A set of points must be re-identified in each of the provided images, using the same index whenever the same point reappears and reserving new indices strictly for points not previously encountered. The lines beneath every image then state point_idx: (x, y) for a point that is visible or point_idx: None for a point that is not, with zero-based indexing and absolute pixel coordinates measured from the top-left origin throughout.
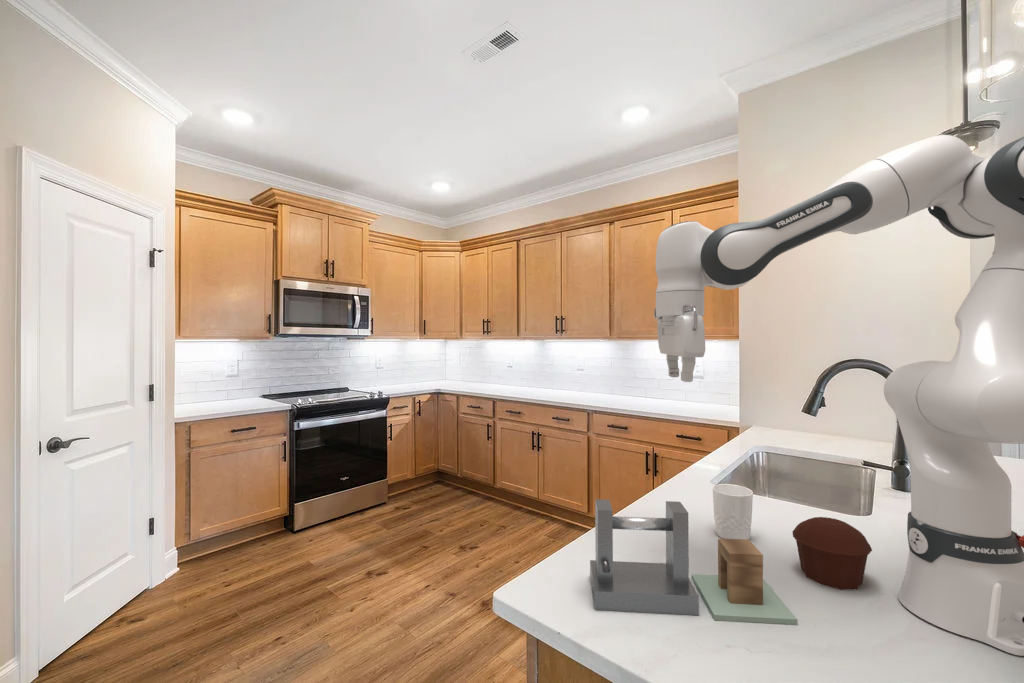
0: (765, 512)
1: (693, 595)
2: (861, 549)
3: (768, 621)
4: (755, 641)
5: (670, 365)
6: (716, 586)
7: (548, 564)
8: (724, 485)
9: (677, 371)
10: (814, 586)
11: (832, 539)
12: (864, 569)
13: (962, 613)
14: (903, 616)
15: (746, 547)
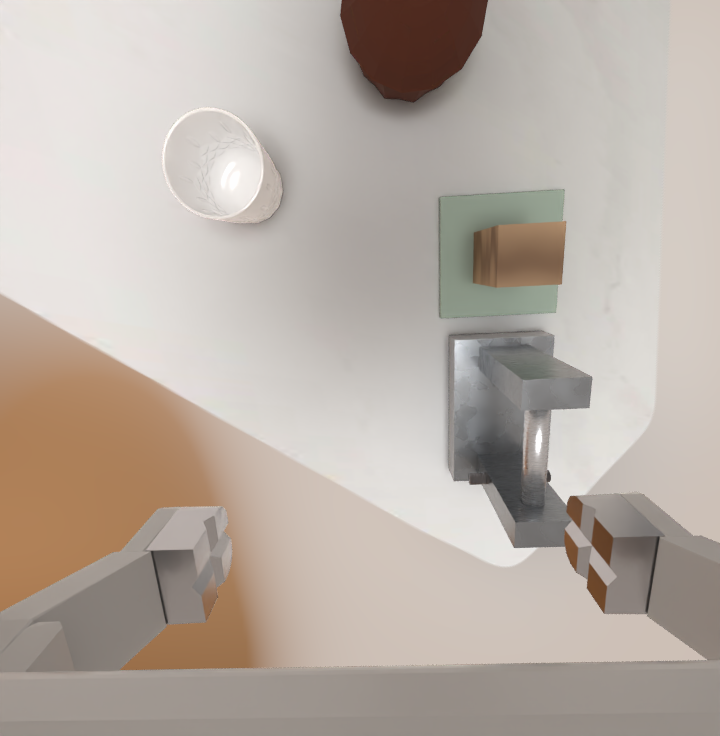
0: (85, 50)
1: (552, 342)
2: None
3: None
4: (598, 269)
5: (133, 637)
6: (477, 287)
7: (417, 524)
8: (169, 174)
9: (205, 544)
10: (446, 103)
11: (470, 16)
12: None
13: None
14: None
15: (535, 242)
